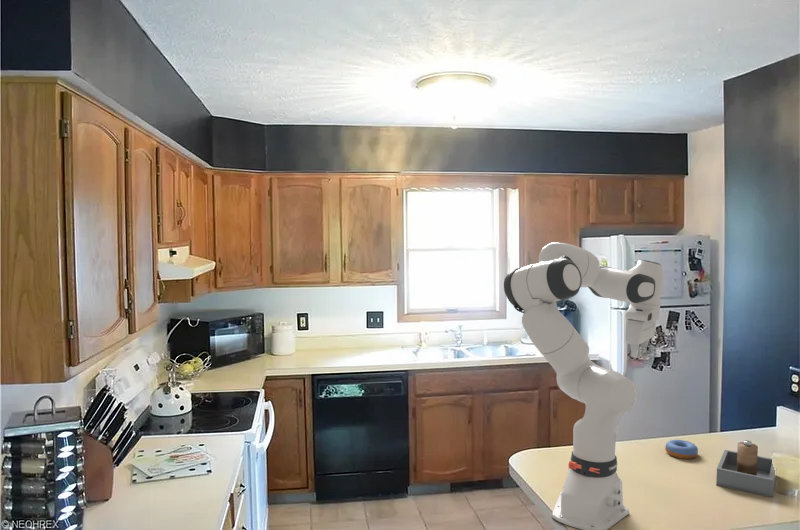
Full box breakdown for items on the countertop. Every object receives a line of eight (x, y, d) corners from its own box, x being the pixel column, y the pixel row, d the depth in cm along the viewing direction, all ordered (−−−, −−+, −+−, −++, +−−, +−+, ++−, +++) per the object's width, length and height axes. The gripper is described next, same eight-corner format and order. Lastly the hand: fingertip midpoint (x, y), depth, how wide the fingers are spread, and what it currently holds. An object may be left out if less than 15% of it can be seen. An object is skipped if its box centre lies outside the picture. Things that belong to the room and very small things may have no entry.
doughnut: (704, 459, 190) (703, 445, 190) (674, 461, 190) (673, 447, 190) (689, 450, 200) (688, 437, 200) (660, 452, 200) (659, 439, 200)
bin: (772, 497, 163) (772, 480, 163) (716, 485, 172) (716, 468, 171) (776, 475, 178) (776, 459, 178) (724, 464, 186) (724, 449, 186)
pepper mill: (756, 482, 171) (757, 446, 170) (736, 478, 174) (737, 442, 173) (756, 475, 175) (758, 440, 174) (737, 472, 178) (738, 437, 177)
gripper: (642, 306, 192) (637, 347, 193) (624, 313, 175) (618, 357, 177) (662, 310, 188) (657, 351, 189) (645, 317, 172) (639, 362, 173)
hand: (638, 354), depth 183 cm, fingers open, 8 cm apart
